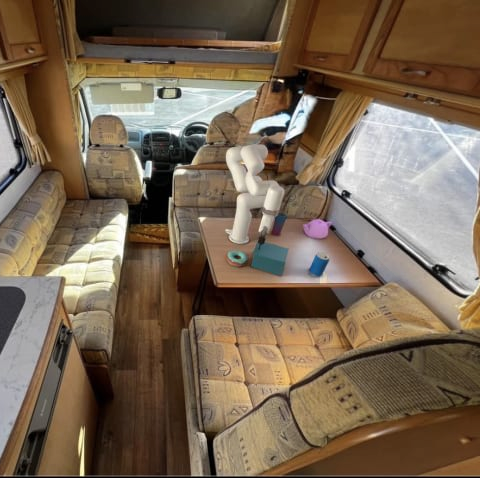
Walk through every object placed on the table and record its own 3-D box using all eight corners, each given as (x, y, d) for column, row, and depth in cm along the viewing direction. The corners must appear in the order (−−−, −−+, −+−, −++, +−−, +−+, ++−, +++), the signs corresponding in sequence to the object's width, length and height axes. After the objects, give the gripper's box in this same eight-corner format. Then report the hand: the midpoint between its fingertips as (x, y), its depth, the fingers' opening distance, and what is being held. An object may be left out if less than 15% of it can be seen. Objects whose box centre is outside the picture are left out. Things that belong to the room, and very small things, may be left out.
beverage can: (321, 279, 137) (329, 261, 130) (307, 274, 140) (315, 257, 133) (322, 272, 141) (330, 254, 134) (309, 267, 144) (317, 250, 137)
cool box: (250, 266, 144) (254, 254, 139) (255, 253, 154) (259, 241, 149) (280, 276, 138) (284, 263, 133) (283, 261, 148) (288, 249, 143)
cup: (281, 237, 169) (288, 217, 160) (271, 235, 170) (277, 215, 161) (280, 231, 174) (286, 211, 165) (269, 230, 175) (275, 210, 166)
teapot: (293, 229, 176) (298, 216, 170) (320, 227, 179) (326, 213, 173) (306, 241, 165) (311, 227, 159) (334, 238, 168) (340, 224, 162)
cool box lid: (252, 253, 140) (254, 245, 136) (257, 240, 149) (260, 232, 146) (285, 263, 133) (288, 255, 130) (288, 249, 143) (291, 241, 140)
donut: (244, 270, 142) (245, 265, 139) (223, 263, 146) (224, 258, 144) (249, 258, 150) (250, 253, 148) (229, 252, 155) (230, 246, 152)
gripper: (265, 202, 138) (258, 229, 147) (259, 216, 125) (251, 244, 135) (280, 205, 135) (272, 233, 144) (275, 220, 122) (266, 249, 132)
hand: (262, 238), depth 140 cm, fingers open, 9 cm apart
